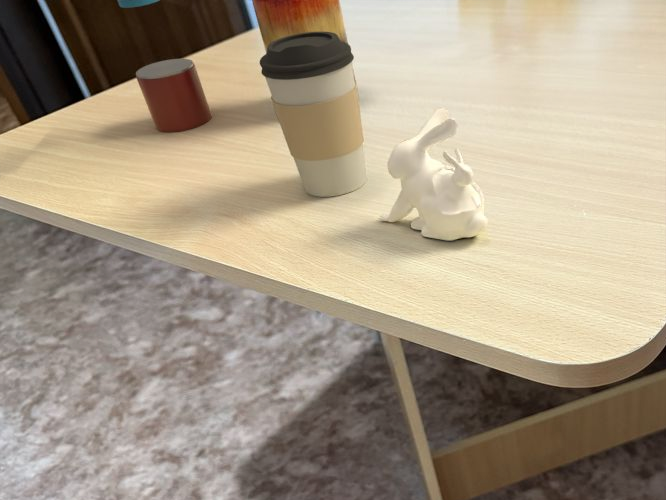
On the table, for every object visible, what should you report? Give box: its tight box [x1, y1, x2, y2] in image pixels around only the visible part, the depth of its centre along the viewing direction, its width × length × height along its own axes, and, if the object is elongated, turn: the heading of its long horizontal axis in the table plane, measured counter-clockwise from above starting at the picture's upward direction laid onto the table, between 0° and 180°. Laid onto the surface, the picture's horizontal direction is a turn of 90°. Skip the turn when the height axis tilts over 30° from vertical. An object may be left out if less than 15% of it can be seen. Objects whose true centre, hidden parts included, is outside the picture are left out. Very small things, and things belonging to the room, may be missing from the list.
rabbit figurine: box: [377, 107, 489, 241], centre depth 63 cm, size 12×8×10 cm, turn 47°
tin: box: [135, 58, 213, 133], centre depth 94 cm, size 8×8×7 cm
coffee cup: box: [259, 32, 368, 198], centre depth 70 cm, size 9×9×15 cm
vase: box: [251, 0, 359, 93], centre depth 90 cm, size 11×11×20 cm
